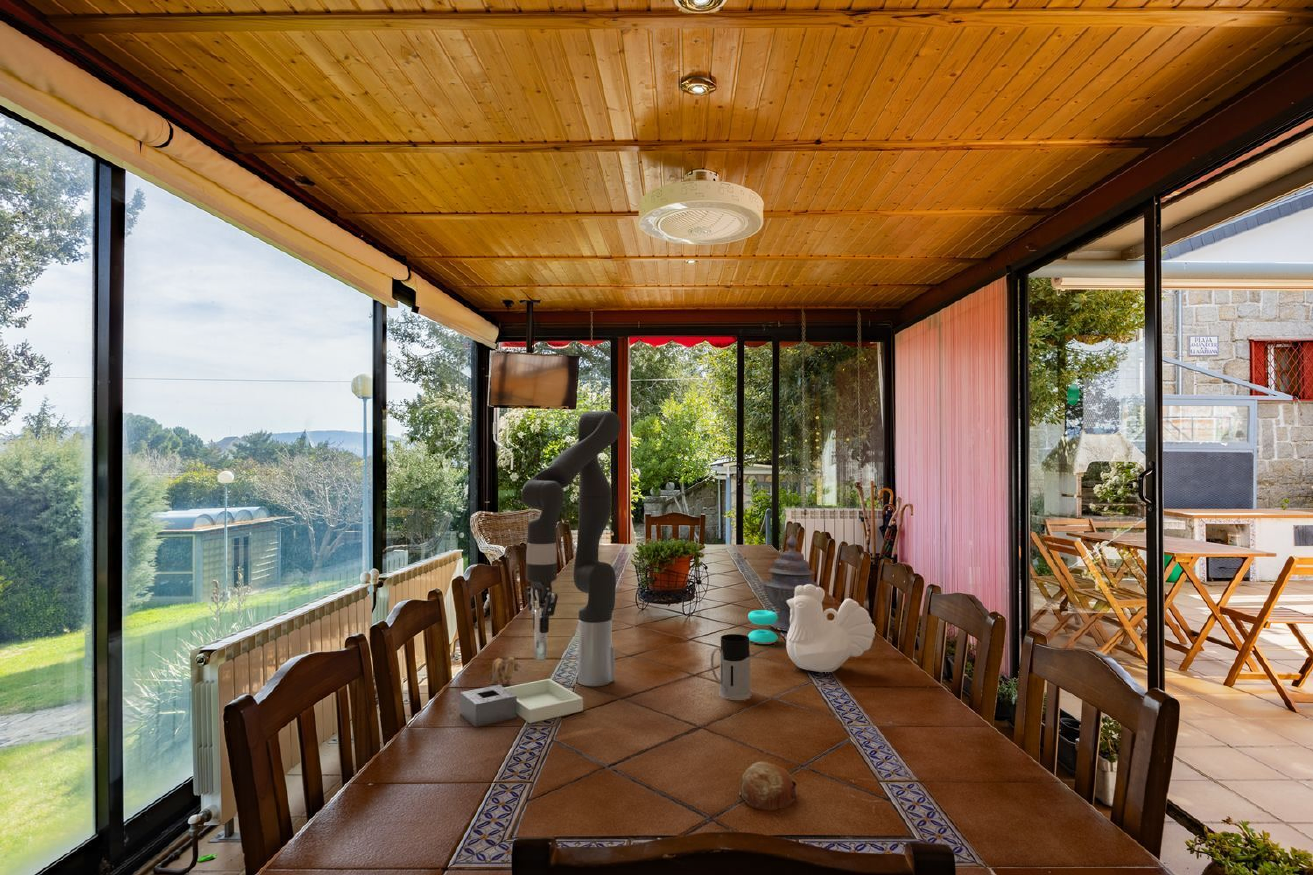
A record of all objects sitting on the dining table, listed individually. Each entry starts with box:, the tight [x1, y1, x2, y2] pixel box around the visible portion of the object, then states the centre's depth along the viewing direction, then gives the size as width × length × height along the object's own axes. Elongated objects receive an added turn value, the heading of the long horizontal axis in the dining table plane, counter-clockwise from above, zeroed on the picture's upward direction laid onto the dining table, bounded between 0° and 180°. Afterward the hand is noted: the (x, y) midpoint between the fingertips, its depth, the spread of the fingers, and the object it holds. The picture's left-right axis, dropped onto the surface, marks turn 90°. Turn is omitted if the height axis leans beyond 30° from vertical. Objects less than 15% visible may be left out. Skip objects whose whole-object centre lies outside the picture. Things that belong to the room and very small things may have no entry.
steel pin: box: [533, 600, 548, 660], centre depth 172 cm, size 3×3×14 cm
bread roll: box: [739, 761, 797, 811], centre depth 128 cm, size 10×10×8 cm
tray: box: [504, 678, 584, 724], centre depth 172 cm, size 14×18×4 cm
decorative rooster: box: [785, 584, 876, 674], centre depth 204 cm, size 25×16×25 cm, turn 65°
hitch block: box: [459, 684, 518, 728], centre depth 165 cm, size 10×10×6 cm
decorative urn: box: [762, 533, 820, 630], centre depth 256 cm, size 20×20×35 cm
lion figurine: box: [489, 656, 522, 686], centre depth 190 cm, size 15×5×9 cm, turn 38°
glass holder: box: [710, 633, 753, 701], centre depth 181 cm, size 9×14×15 cm, turn 137°
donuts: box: [747, 609, 779, 643], centre depth 236 cm, size 10×10×10 cm
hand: (540, 630), depth 172 cm, fingers closed on steel pin, 3 cm apart
